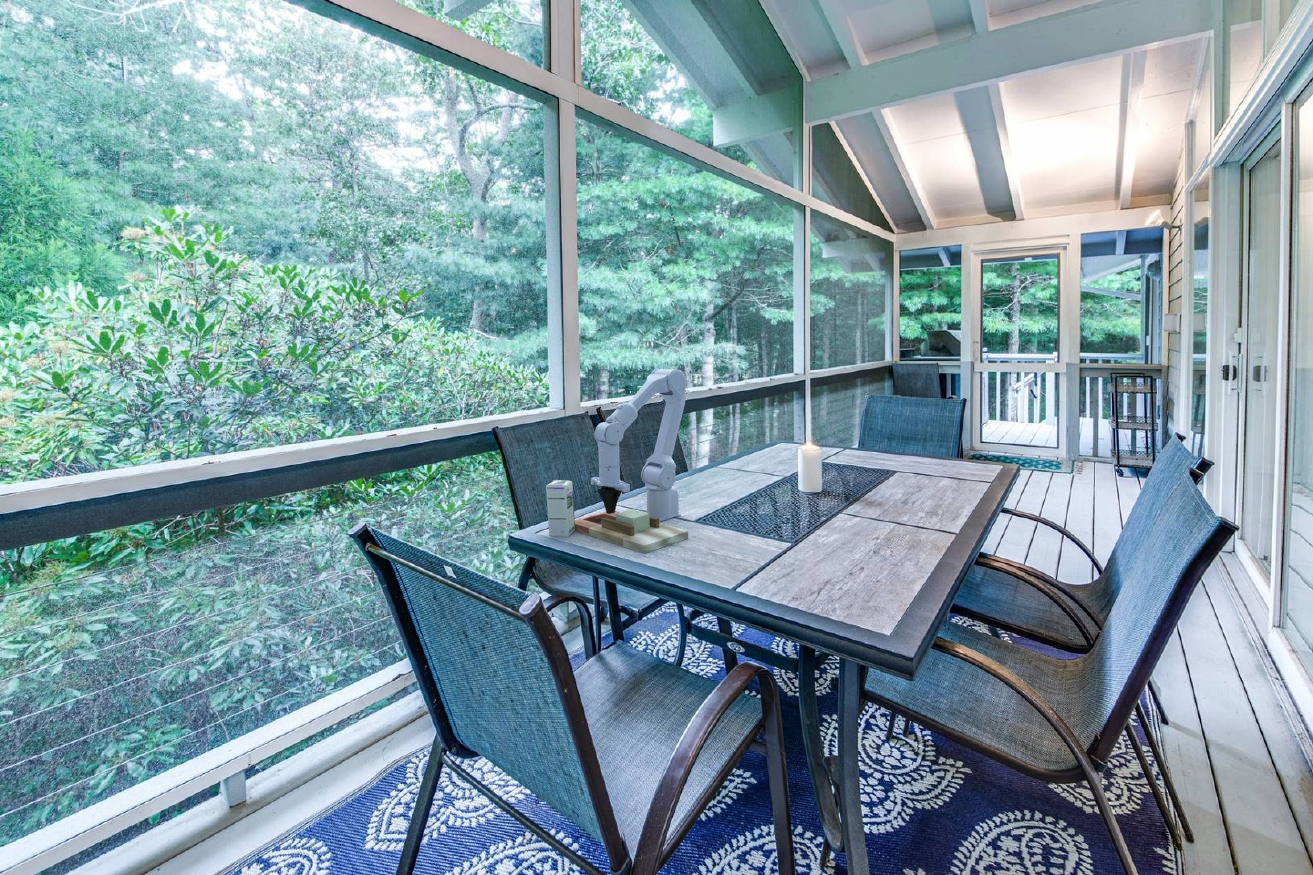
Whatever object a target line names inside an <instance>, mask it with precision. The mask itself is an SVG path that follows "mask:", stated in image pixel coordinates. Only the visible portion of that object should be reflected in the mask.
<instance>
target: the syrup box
mask: <svg viewBox="0 0 1313 875" xmlns="http://www.w3.org/2000/svg"><path fill="white" fill-rule="evenodd" d="M573 485H574V484H573V481H572V480H567V479H563V480H562V479H561V480H560V479H559V480H552V482H550V483H549V484H546V485H545V491H546V493H545V494H546V502H547V503H546V506H547V520H548V521H547V522H548V535H549V536H550V537H569V536H571V535H572V534H573V533H574V532H576V531H575V520H576V519H575V505H574V489H573V488H574V487H573Z"/></svg>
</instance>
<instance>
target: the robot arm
mask: <svg viewBox="0 0 1313 875" xmlns="http://www.w3.org/2000/svg"><path fill="white" fill-rule="evenodd" d="M687 384H688V379H687V377H686V376H685V374H684V373H683V371H682V370H680V369H675V368H674V369H666V368H665V369H664V368H663V369H662V368H655V369H654V370H653V371H651V373H650V374H649V375H647V378H646V380H645V382H644V384H642V385H641V387H640V388H639V390H638V391H637V392H636V393H635V395H633V397H632V398H631V399H630V400H629V401H628V402H622V403H619V404H618V405H617V406H616V409H615V410H614V412H612V414H611V415H610V416H608V417H607V418H606V419H605V422H604V421H603V422H600V423H598V425H597V426H596V427H595V431H594V432H593V438H594V440H595V441H596V443H597V447H598V469H599V470H598V471H599V472H598V473H599V474H598V476H599V477H598V476H595V477H594V476H593V477H590V485H593V486H594V485H596V486H598V487H600V488H598V489H597V493H598V494H599V496H600V498H601V500H602V502H603V505H604V509H605V512H606V513H607V514H612V513H615V511H617V510H616V508H617V504H618V500H620V499H619V498H620V497H621V494H622V493H628V492H631V487H630V486H631V485H630V484H629V483H627V482H624V481H623V480H621V473H620V471H621V470H620V467H621V466H620V443H621V442H622V440H623V438H624V433H625V432H626V430H627V429H628V428H629V427H630V426H631V424H633V422H634V421H635V420H637V418H638V411H639V410H640V409H641V408H642V407H643V406H645V405H646V404H647V403H648V402H649V401H650V400H651V399H652V398H653V397H654V396H655V395H656V394H659V395H660V396H661V397H662V398H663V400H664V401H665V405H664V411H663V415H662V418H661V421H660V422H661V423H660V425H659V426H660V427H659V431H658V435H657V438H656V441H655V442H656V443H655V447H654V450H653V454H652V455H650V456H648V458H646V462H645V465H644V466H643V468H642V469H641V471H640V472H641V473H640V479H641V481H642V482H643V483H644V486H645V489H646V493H645V494H646V513H648V514H649V516H652V517H656V518H659V523H661V522H662V521H666V520H669V519H672V518H676V517H678V516H681V513H680V512H679V511H680V510H679V509H680V508H679V505H680V503H679V500H680V499H679V491H678V490H677V487H676V486H674V484H675V482H676V479H677V478H676V469H677V465H676V463H675V461H674V460H673V454H674V450H675V447H676V446H675V445H676V441H677V438H678V433H679V429H680V425H681V421H682V416H683V413H684V408H685V405H686V388H687Z"/></svg>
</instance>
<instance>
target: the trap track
mask: <svg viewBox="0 0 1313 875" xmlns="http://www.w3.org/2000/svg"><path fill="white" fill-rule="evenodd" d="M617 513H620V511H617V510H615V513H612V514H607V513H606V511H603V512H600V513H596V514H593V515H589V516H586V517H581V518H578V519H575V531H574V532H579V533H581V534H585V535H587V536H591V537H594V538H596V539H600V540H603V541H605V540H606V542H609V543H611V544H615V545H619V546H621V547H624V548H626V549H627V548H628V549H630V550H634V551H636V552H638V553H642V554H647V552H648V553H650V552H653V551H656V550H658V549H662V548H665V547H667V546H670V545H673V544H675V543H678V542H682V541H684V540H687V539H689V530H686V529H682V528H678V527H675V526H671V525H669V524H664V523H661V522H659V518H656V517H652V516H649V518H650V528H648V529H645V530H642V531H639V532H636V533H634V526H632V525H629V524H625V523H622V522H618V521H616V514H617Z"/></svg>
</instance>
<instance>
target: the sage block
mask: <svg viewBox="0 0 1313 875" xmlns="http://www.w3.org/2000/svg"><path fill="white" fill-rule="evenodd" d="M619 512H620V511H619ZM616 521H618V522H622V523H625V524H629V525H632V526H634V533H636V532H639V531H642V530H645V529H648V528H650V518H649V514H648V513H647V512H644V511H639V510H637V509H632V508H631V509H628V510H623V511H621V512H620V513H617V514H616Z"/></svg>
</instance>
